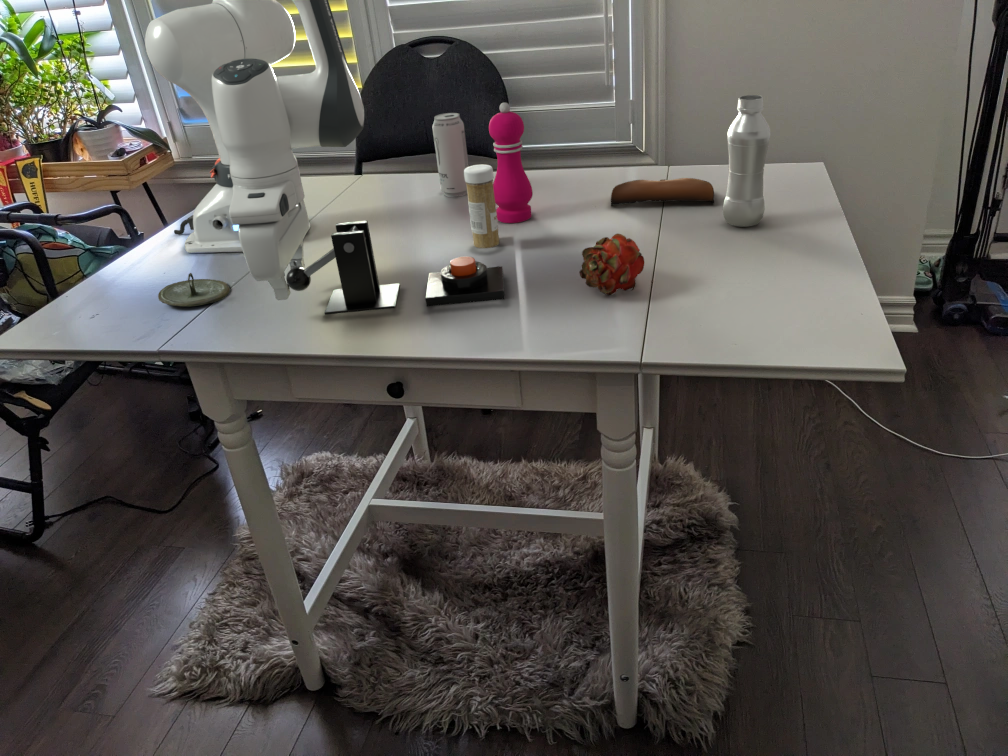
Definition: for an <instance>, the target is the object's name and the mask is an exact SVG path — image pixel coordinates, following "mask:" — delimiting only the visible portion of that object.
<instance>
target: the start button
mask: <svg viewBox="0 0 1008 756" xmlns="http://www.w3.org/2000/svg"><path fill="white" fill-rule="evenodd" d="M475 262H476V259H475V258H474V257H472V256H464V255H463V256H458V257H455V258H453V259H451V260H450V262H449V265H450V267H451V274H452V275H455V276H466V275H470V274H473V273H475V272H476V263H475Z"/></svg>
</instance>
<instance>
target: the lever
mask: <svg viewBox="0 0 1008 756" xmlns="http://www.w3.org/2000/svg"><path fill="white" fill-rule="evenodd" d="M351 231H359V230H358V228H357V227H356V226H353V227H352V228H351V229H349V230H348V231H347V232H351ZM365 240H366V238H365ZM334 259H336V257H335V253H334V248H332V249H330V250H329V251H327V252H326V253H325V254H323V255H322V256H321V257H320V258H318V259H317V260H315V261H314V262H312V263H311V264H310V265H309V266H307V267H304V268H301V267H295V268H293V269H291V268H290V269H289V271H288V272H287V274H286V278H285V281H286V283H287V284H289V287H290V290H293V291H295V292H302V291H305V290H307V289H308V288H309V287H310V285H311V282H312V275H314V274H315V273H316V272H318V271H320V269H322V268H324V267H325V266H326V265H328V264H329V263H330V262H332V261H333V260H334Z"/></svg>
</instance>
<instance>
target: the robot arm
mask: <svg viewBox="0 0 1008 756" xmlns="http://www.w3.org/2000/svg"><path fill="white" fill-rule="evenodd" d="M291 2H293V4H294V5H295V8H296V9H297V11H298V14H299V16H300V20H301V23H302V26H303V29H304V33H305V35H306V39H307V42H308V45H309V49H310V52H311V54H312V58H313V61H314V64H315V69H314V70H313V71H312V72H310V73H302V74H290V75H280V76H276V75H275V73H274V69H273V67H272V65H274V64H276V63H278V62H280V61H282V60H283V59H285V58H287V57H289V56H290V55H291V54H292V52H293V50H294V47H295V44H296V29H295V25H294V21H293V19H292V17H291V14H289V12H288V10H287V9H286V8H285V7H284V6H283V4H282V3H281V2H279V1H278V0H212V2H211V3H208V4H201V5H196V6H190V7H189V6H188V7H183V8H177V9H174V10H172V11H170V12H167V13H165V14H163V15H160V16H159V17H156V18H154V19H152V20H151V21H150V22H149V23H148V26H147V27H146V31H145V35H144V48H145V51H146V55H147V57H148V58H147V59H148V60H149V62H150V63H151V65H152V66H153V68H154V70H155V71H156V72H157V73H158V75H160V76H161V77H162V78H164V79H165V80H166V81H168V82H170V83H171V84H174V85H176V86H178V87H179V88H180V89H182V90H184V91H185V92H186V93H187V94H188V95H189V96H190V97H191V98H192V100H194V101H195V102H196V103H197V105H198V106H199V108H200V109H201V111H202V112H203V115H204V116H205V118H206V120H207V122H208V125H209V128H210V130H211V133H212V137H213V141H214V143H215V146H216V151H217V153H218V159H216V160H215V162H214V165H213V166H212V167H211V170H210V171H209V174H210V178H211V179H214V181H215V184H214V186H213V187H211V189H210V190H209V191H208V192H207V193H206V195H205V196H204V197H203V199H201V200H200V201H199V203H198V204H197V206H195V209H194V210H193V214H192V215H190V216H189V217H187V218H186V219H184V220H182V222H181V223H180V224H179V229H174V231H173V234H174V235H177V236H180V235H183V234H184V233H185V230H186V229H185V228H186V226H187V225H189V227H190V228H189V229H190V231H192V232H191V233H190V234H189V235H188V236H187V238H186V239H185V241H184V249H185V251H186V253H189V254H197V253H201V254H202V253H205V254H206V253H240V252H242V253H243V256H244V259H245V262H246V266H247V268H248V272H249V273H250V275H251V277H252V278H253V279H254V280H255V281H256V282H264V281H265V282H268V284H269V286H270V287H271V288H272V289H273V293H274V296H275V299H276V300H277V301H287V300H288V299H289V298H290V296H291V294H292V293H291V288H290V287H289V284H287V280H286V278H285V276H286V274H285V272H286V269H287V268H288V266H289V267H290V270H291V269H293V268H295V267H301V268H304V269H305V268H306V265H305V264H306V263H305V260H304V242H303V240H304V238H305V237H306V235H307V233H308V231H309V230H310V228H311V223H310V218H309V215H308V210H307V206H306V203H305V192H304V187H303V182H302V178H301V171H300V168H299V163H298V159H297V157H296V155H295V154H294V152H293V149H303V148H313V147H321V148H347V147H348V146H349V145H350V144H351V143H352V142H353V141H354V140H355V139H356V138H357V137H359V135H360V134H361V132H362V130H363V129H364V127H365V108H364V103H363V99H362V97H361V94H360V92H359V89H358V86H357V85H356V82H355V80H354V78H353V75H352V72H351V70H350V66H349V64H348V63H349V62H348V61H347V57H346V55H345V50H344V47H343V44H342V41H341V37H340V34H339V31H338V28H337V24H336V21H335V18H334V15H333V12H332V8H331V5H330V2H329V0H291Z"/></svg>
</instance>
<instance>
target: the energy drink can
mask: <svg viewBox="0 0 1008 756" xmlns="http://www.w3.org/2000/svg"><path fill="white" fill-rule="evenodd" d="M433 118H434V121H433V124H432V125H431V127H432V135H433V142H434V150H435V158H436V165H437V172H438V180H439V187H440V188H439V189H440V191H441V192H442V193H443V195H444V196H445V197H449V198H456V197H462V196H465V195H468V192H467V185H466V182H465V177H464V170H465V169H466V168H467V167H470V166H469V158H468V149H467V141H466V132H465V123H464V121H463V120H462V118H461V116H460V113H457V112H447V113H446V112H445V113H440V114H437V115H435V116H434V117H433Z"/></svg>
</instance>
